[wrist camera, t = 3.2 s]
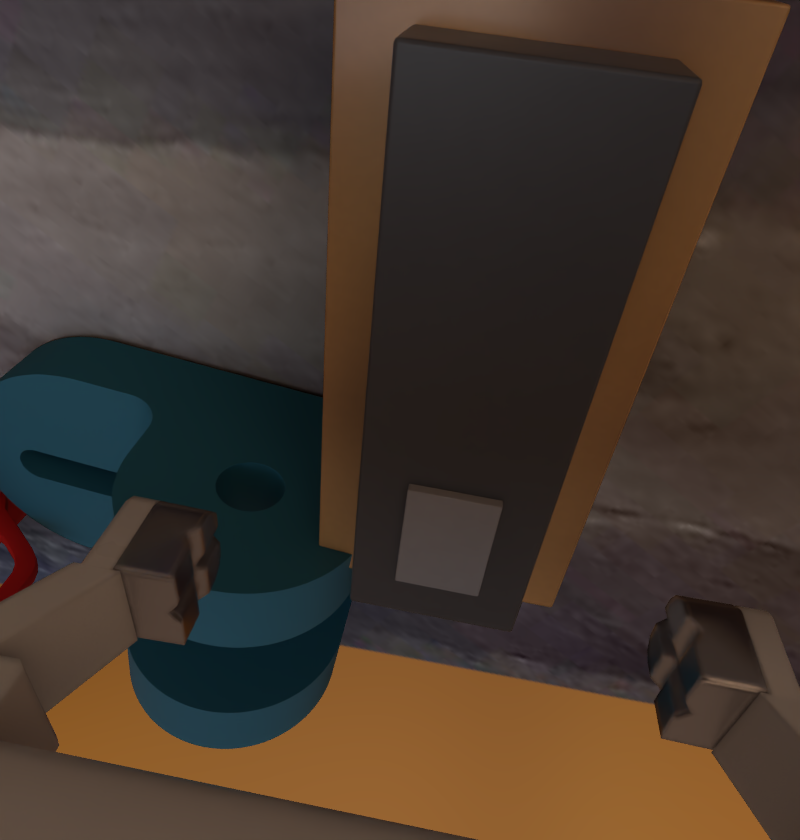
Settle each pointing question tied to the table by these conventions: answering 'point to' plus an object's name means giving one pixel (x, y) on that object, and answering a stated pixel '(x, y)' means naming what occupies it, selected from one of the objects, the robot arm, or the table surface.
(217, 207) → the table surface
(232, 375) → the bracket
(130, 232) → the table surface
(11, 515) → the mug
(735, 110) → the shelf
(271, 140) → the table surface
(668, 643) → the robot arm
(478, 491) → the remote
